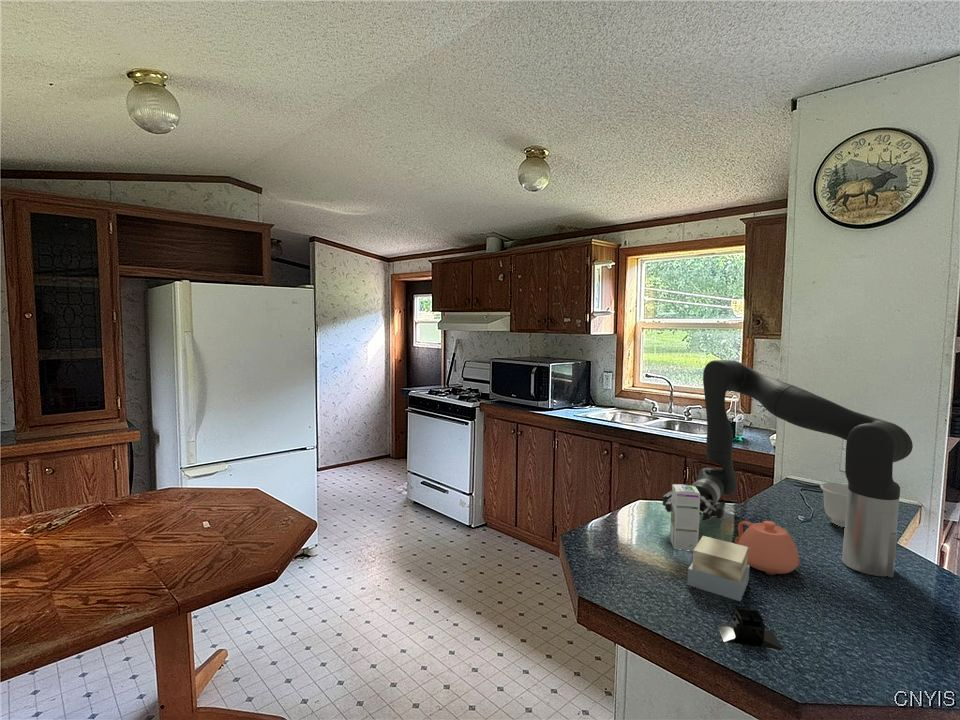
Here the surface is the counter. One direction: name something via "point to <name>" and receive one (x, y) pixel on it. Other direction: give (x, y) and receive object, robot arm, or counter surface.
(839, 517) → the teacup
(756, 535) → the salmon teapot
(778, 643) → the black slotted chunky part
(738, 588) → the tower base
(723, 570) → the tower top
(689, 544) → the syrup box
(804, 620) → the counter surface
